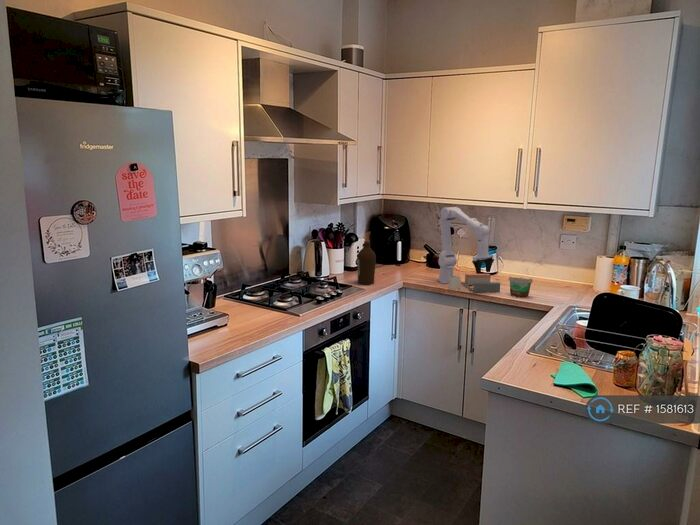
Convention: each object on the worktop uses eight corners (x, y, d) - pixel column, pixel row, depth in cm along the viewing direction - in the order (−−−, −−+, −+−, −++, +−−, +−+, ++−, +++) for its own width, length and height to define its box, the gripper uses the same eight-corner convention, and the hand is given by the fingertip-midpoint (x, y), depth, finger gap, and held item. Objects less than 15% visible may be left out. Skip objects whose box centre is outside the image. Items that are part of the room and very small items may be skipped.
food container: (505, 295, 272) (506, 277, 270) (507, 293, 278) (509, 275, 276) (529, 299, 267) (531, 280, 265) (531, 296, 272) (532, 278, 270)
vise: (461, 283, 297) (461, 275, 296) (488, 283, 299) (489, 275, 298) (472, 292, 278) (473, 283, 277) (501, 292, 280) (502, 283, 279)
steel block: (448, 287, 288) (449, 275, 286) (457, 287, 288) (457, 275, 287) (451, 289, 283) (451, 277, 282) (459, 289, 284) (460, 277, 282)
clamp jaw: (464, 284, 295) (465, 273, 294) (488, 283, 297) (488, 273, 295) (466, 285, 292) (467, 275, 291) (490, 285, 293) (490, 275, 292)
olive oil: (375, 281, 299) (376, 239, 294) (374, 285, 289) (375, 242, 283) (357, 280, 300) (358, 238, 295) (356, 285, 289) (356, 241, 284)
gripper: (479, 249, 268) (480, 275, 269) (497, 247, 276) (498, 271, 277) (469, 248, 273) (469, 273, 275) (487, 246, 282) (487, 270, 283)
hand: (483, 272), depth 277 cm, fingers open, 7 cm apart
